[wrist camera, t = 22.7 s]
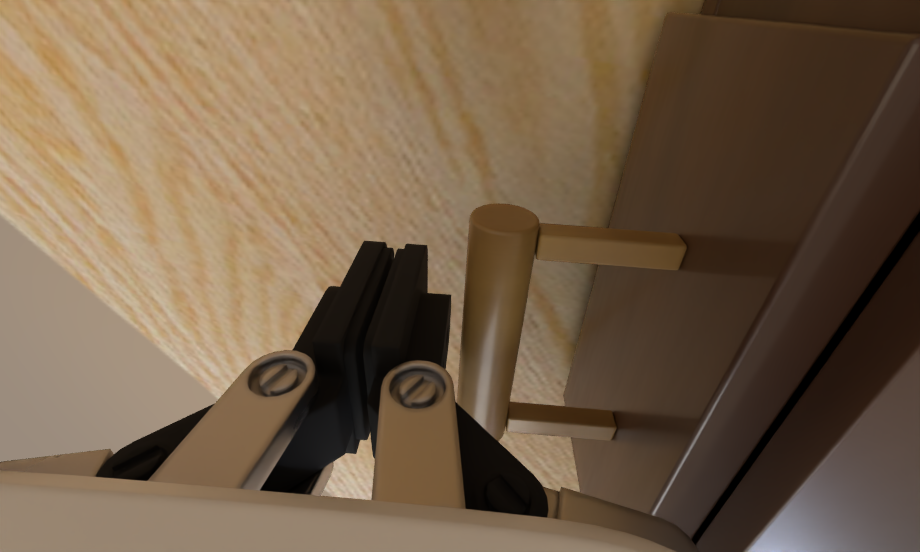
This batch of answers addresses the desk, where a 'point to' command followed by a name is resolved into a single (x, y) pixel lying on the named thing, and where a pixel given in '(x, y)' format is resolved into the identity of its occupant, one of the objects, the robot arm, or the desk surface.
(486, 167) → the desk surface
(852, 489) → the cabinet
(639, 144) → the drawer
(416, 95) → the desk surface
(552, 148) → the desk surface
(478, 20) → the desk surface
